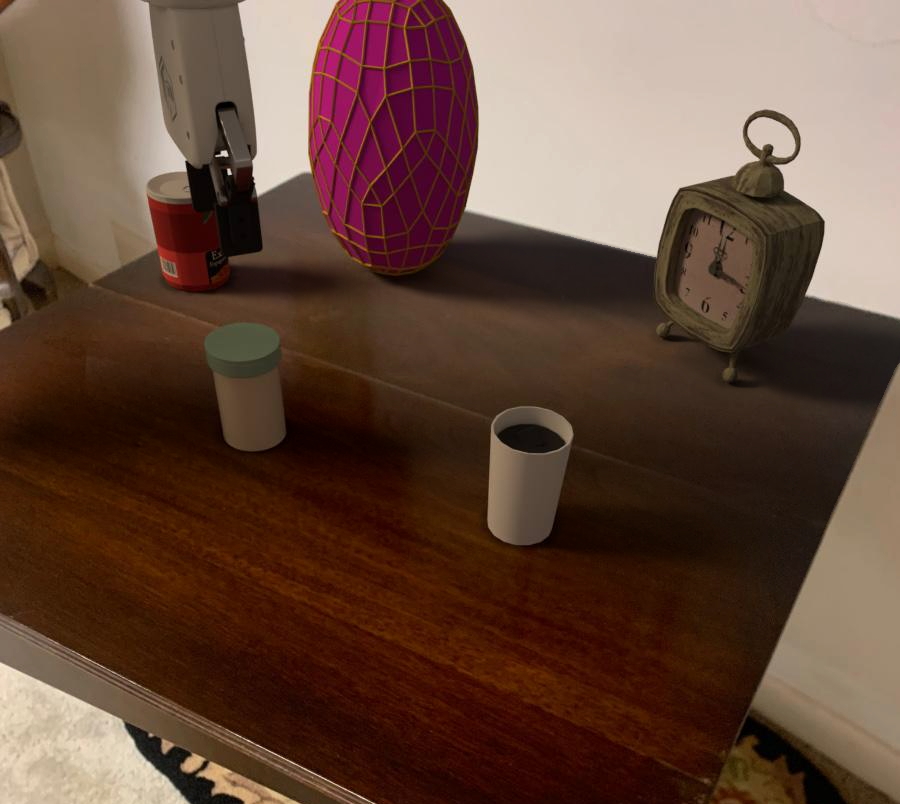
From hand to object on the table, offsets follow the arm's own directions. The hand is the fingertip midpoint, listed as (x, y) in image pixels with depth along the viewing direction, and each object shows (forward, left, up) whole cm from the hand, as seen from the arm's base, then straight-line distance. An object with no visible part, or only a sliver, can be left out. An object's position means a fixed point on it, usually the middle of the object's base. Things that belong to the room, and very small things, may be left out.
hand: (227, 229), depth 71 cm
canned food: (-14, +30, -20) cm, 39 cm away
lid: (0, 0, -10) cm, 10 cm away
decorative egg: (+9, +37, -20) cm, 43 cm away
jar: (0, 0, -20) cm, 20 cm away
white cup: (+26, -10, -20) cm, 34 cm away
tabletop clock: (+47, +22, -20) cm, 56 cm away
